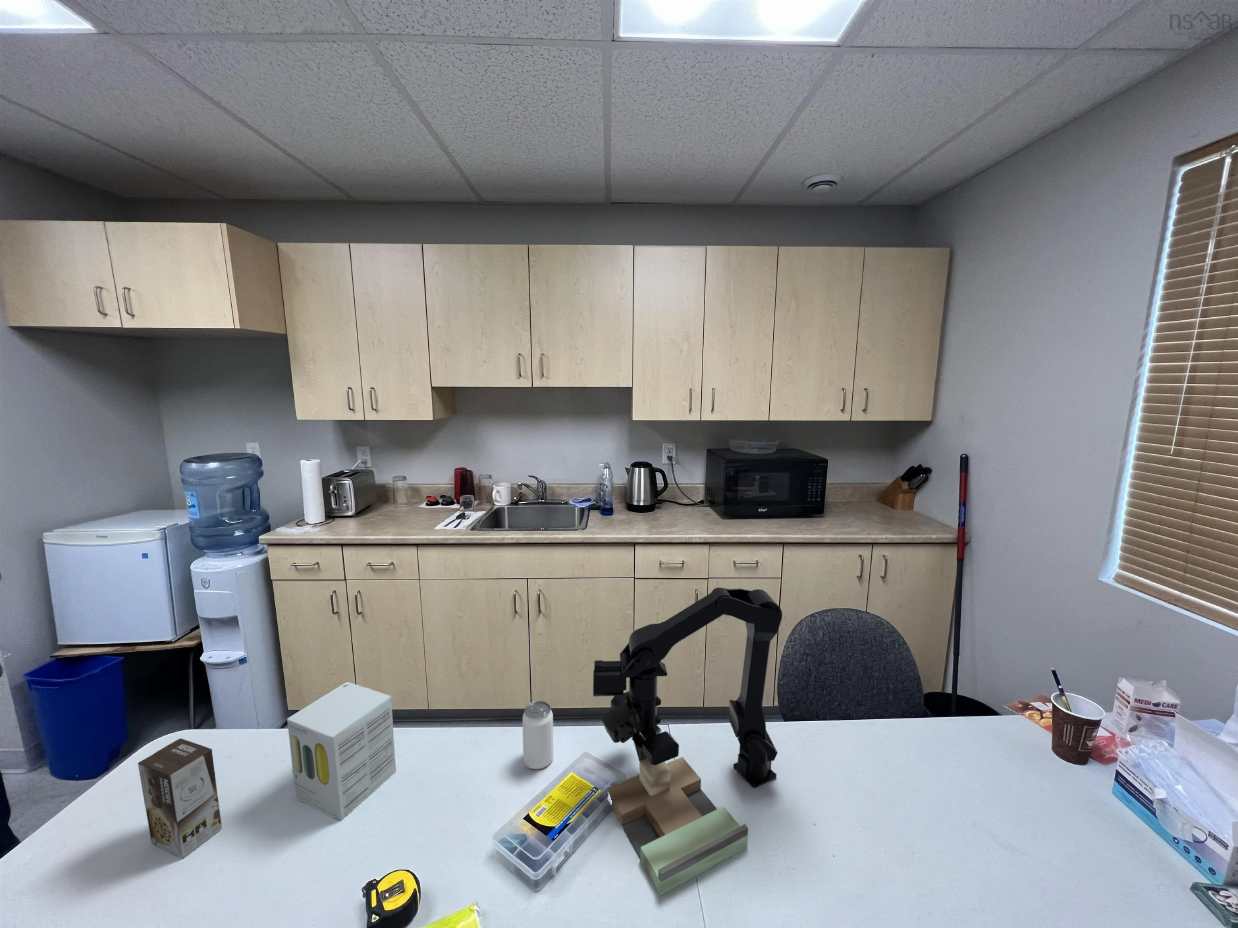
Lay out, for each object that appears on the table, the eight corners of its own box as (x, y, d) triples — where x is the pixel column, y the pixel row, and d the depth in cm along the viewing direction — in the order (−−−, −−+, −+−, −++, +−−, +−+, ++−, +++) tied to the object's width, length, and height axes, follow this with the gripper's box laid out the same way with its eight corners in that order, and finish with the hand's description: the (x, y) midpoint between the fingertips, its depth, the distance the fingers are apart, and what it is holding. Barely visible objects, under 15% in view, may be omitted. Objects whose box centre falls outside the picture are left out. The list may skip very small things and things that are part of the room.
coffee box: (224, 827, 85) (214, 748, 83) (181, 860, 79) (169, 775, 77) (192, 812, 88) (181, 735, 85) (148, 843, 82) (136, 761, 79)
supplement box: (292, 799, 91) (284, 718, 88) (353, 752, 103) (347, 679, 101) (340, 822, 86) (332, 737, 84) (397, 770, 98) (392, 694, 96)
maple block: (658, 771, 95) (658, 753, 95) (670, 787, 91) (670, 769, 91) (639, 779, 93) (639, 761, 93) (650, 796, 89) (651, 777, 89)
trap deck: (606, 799, 91) (606, 781, 91) (682, 767, 99) (682, 750, 99) (660, 895, 74) (661, 873, 73) (747, 847, 82) (748, 827, 81)
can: (547, 772, 98) (546, 721, 96) (518, 767, 99) (517, 716, 97) (557, 750, 104) (556, 701, 102) (530, 745, 105) (529, 697, 104)
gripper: (588, 678, 99) (589, 744, 101) (629, 734, 83) (628, 811, 85) (634, 665, 104) (633, 728, 106) (681, 715, 87) (679, 789, 90)
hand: (642, 761), depth 97 cm, fingers closed
